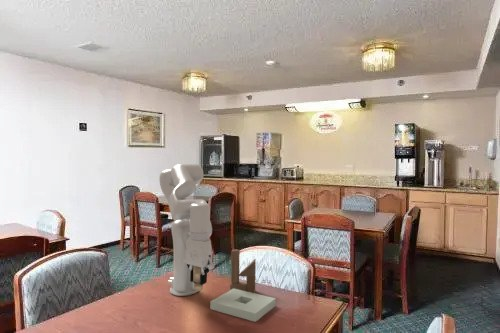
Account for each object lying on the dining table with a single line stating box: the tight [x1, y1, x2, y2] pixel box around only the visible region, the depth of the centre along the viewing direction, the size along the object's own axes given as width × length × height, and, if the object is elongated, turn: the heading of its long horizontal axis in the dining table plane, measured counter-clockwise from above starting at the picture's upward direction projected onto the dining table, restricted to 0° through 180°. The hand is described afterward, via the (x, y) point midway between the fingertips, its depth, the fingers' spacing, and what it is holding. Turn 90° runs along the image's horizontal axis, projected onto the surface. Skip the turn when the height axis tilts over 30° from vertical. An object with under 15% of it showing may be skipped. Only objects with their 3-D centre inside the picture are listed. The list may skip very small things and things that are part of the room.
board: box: [210, 288, 277, 323], centre depth 135 cm, size 20×16×3 cm
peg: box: [193, 266, 204, 292], centre depth 133 cm, size 4×4×10 cm
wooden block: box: [229, 248, 257, 294], centre depth 152 cm, size 4×11×18 cm, turn 84°
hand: (198, 281), depth 133 cm, fingers closed on peg, 4 cm apart
